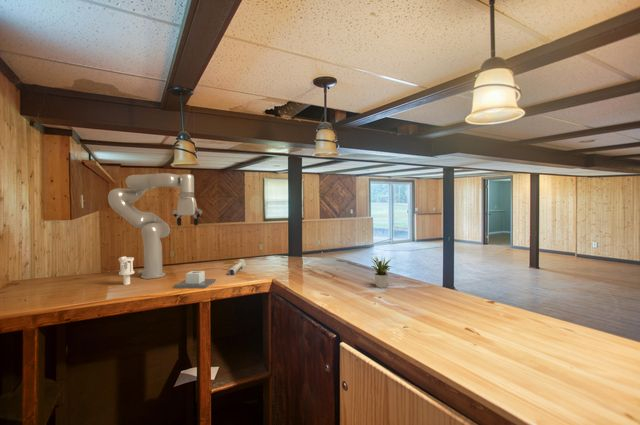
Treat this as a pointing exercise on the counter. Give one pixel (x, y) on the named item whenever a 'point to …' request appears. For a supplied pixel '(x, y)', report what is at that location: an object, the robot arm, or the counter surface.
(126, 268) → the white upright piece
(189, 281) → the collar
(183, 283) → the grey plate with knob
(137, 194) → the robot arm
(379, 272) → the house plant
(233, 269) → the white flashlight
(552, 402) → the counter surface
